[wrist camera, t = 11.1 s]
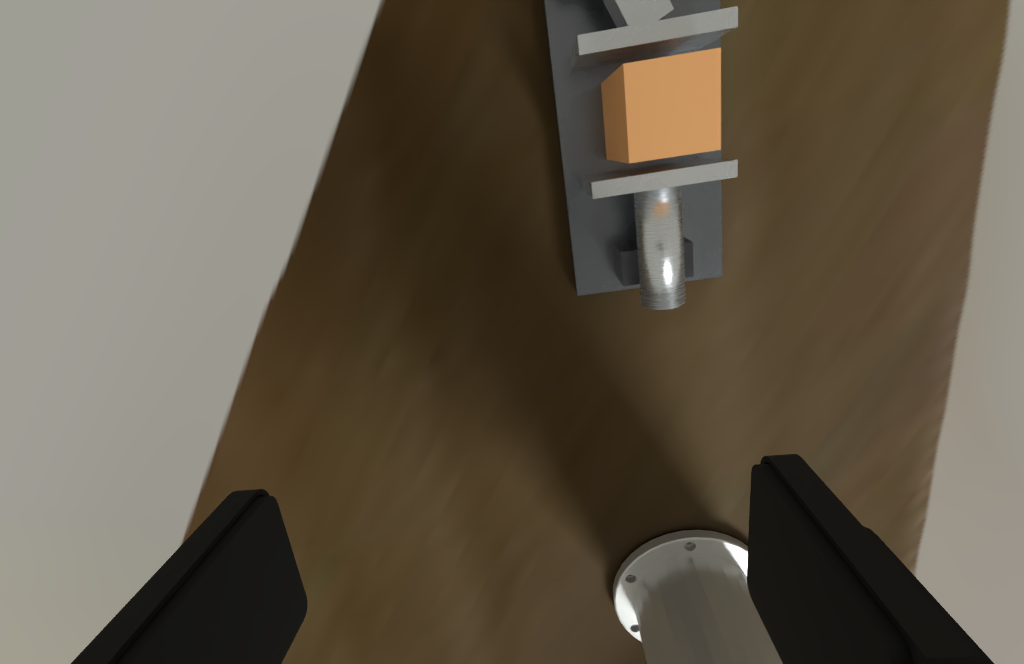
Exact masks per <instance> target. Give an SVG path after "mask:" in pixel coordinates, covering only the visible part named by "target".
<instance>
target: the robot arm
mask: <svg viewBox="0 0 1024 664" xmlns="http://www.w3.org/2000/svg"><path fill="white" fill-rule="evenodd" d="M613 600H614V605H615V611H616V613H617V616H618V619H619V621H620V622H621V624H622V625H623V626H624V628H625V629H626V630H627V631H628V632H629V633H630V634H631V635H632V636H633V637H634V638H636V639H638V640H639V641H641V642H642V645H643V649H644V654H645V658H646V662H647V664H994V663H993V662H992V661H991V660H990V659H989V658H988V656H987V655H986V654H985V653H984V652H983V651H982V650H981V649H980V648H979V647H978V645H977V644H976V643H975V642H974V641H973V640H972V639H971V638H970V637H969V636H968V635H967V634H966V632H965V631H964V630H963V629H962V628H961V627H960V626H959V625H958V623H956V621H955V620H954V619H953V618H952V617H951V616H950V615H949V614H948V613H947V611H946V610H945V609H944V608H943V607H942V606H941V605H940V604H939V603H938V602H937V600H936V599H935V598H934V597H933V596H932V595H931V594H930V593H929V592H928V591H927V590H926V588H925V587H924V586H923V585H922V584H921V583H920V582H919V581H918V580H917V579H916V577H915V576H914V575H913V574H912V573H911V572H910V571H909V570H908V569H907V568H906V566H905V565H904V564H903V563H902V562H901V561H900V560H899V559H898V558H897V557H896V555H895V554H894V553H893V552H892V551H891V550H890V549H889V548H888V547H887V546H886V545H885V543H884V542H883V541H882V540H881V539H880V538H879V537H878V536H877V535H876V534H875V533H874V532H873V531H872V530H870V529H869V528H866V527H864V526H862V525H861V524H860V523H859V521H858V520H857V519H856V518H855V517H854V516H853V515H852V514H851V512H850V511H849V510H848V509H847V508H846V507H845V506H844V505H843V504H842V502H841V501H840V500H839V499H838V498H837V497H836V496H835V495H834V493H833V492H832V491H831V490H830V489H829V488H828V487H827V486H826V485H825V483H824V482H823V481H822V480H821V479H820V478H819V477H818V476H817V474H816V473H815V472H814V471H813V470H812V469H811V468H810V467H809V466H808V464H807V463H806V462H805V461H804V460H803V459H802V458H801V457H800V456H799V455H797V454H788V455H773V456H764V457H763V458H762V460H761V464H758V465H754V466H753V467H752V472H751V493H750V515H749V536H748V546H747V545H745V544H744V543H743V542H741V541H740V540H738V539H735V538H733V537H731V536H729V535H726V534H722V533H718V532H714V531H706V530H685V531H678V532H674V533H669V534H665V535H663V536H660V537H657V538H655V539H652V540H651V541H649V542H647V543H645V544H643V545H642V546H640V547H639V548H638V549H636V550H635V551H634V552H633V553H631V554H630V555H629V556H628V558H627V559H626V560H625V561H624V562H623V563H622V565H621V567H620V568H619V570H618V572H617V574H616V577H615V580H614V584H613ZM306 611H307V597H306V593H305V590H304V587H303V584H302V581H301V577H300V574H299V571H298V568H297V564H296V561H295V558H294V555H293V551H292V548H291V545H290V542H289V538H288V535H287V532H286V529H285V526H284V522H283V519H282V516H281V513H280V509H279V506H278V503H277V501H276V499H275V498H274V497H273V496H269V494H268V492H267V491H266V490H263V489H257V490H242V491H234V492H232V493H231V494H229V495H228V496H227V497H226V498H225V500H224V501H223V502H222V503H221V504H220V505H219V506H218V507H217V508H216V509H215V510H214V511H213V512H212V513H211V514H210V516H209V517H208V518H207V519H206V520H205V521H204V522H203V523H202V524H201V525H200V526H199V527H198V528H197V529H196V530H195V532H194V533H193V534H192V535H191V536H190V537H189V538H188V539H187V540H186V541H185V542H184V543H183V544H182V545H181V547H180V548H179V549H178V550H177V551H176V552H175V553H174V554H173V555H172V556H171V558H169V559H168V560H167V561H166V563H165V564H164V565H163V566H162V567H161V568H160V569H159V570H158V571H157V572H156V573H155V574H154V575H153V577H151V579H150V580H149V581H148V582H147V583H146V584H145V585H144V586H143V587H142V588H141V589H140V590H139V591H138V592H137V594H136V595H135V596H134V597H133V598H132V599H131V600H130V601H129V602H128V603H127V604H126V605H125V607H123V608H122V610H121V611H120V612H119V613H118V614H117V615H116V616H115V617H114V618H113V619H112V620H111V621H110V622H109V623H108V624H107V626H106V627H105V628H104V629H103V630H102V631H101V632H100V633H99V634H98V635H97V636H96V637H95V639H94V640H93V641H92V642H91V643H90V644H89V645H88V646H87V647H86V648H85V649H84V650H83V651H82V652H81V653H80V655H78V657H77V658H76V659H75V660H74V661H73V662H72V663H71V664H281V663H282V661H283V659H284V657H285V655H286V653H287V651H288V649H289V648H290V646H291V644H292V642H293V640H294V638H295V636H296V634H297V632H298V630H299V628H300V626H301V624H302V622H303V620H304V618H305V615H306Z"/></svg>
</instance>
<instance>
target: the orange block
mask: <svg viewBox="0 0 1024 664" xmlns="http://www.w3.org/2000/svg"><path fill="white" fill-rule="evenodd" d="M601 90H602V103H603V116H604V129H605V143H606V156H607V160H612V161H618V162H624V163H636V162H642V161H649V160H656V159H662V158H669V157H676V156H682V155H689V154H696V153H702V152H709V151H716V150H721V48H715V49H709V50H703V51H697V52H691V53H685V54H679V55H673V56H667V57H661V58H655V59H649V60H643V61H637V62H631V63H625V64H622V65H621V66H620V67H619V68H618V69H617V70H616V71H614V72H613V73H612V74H611V75H610V76H609V77H608V78H607V79H606V80H604V81H603V82H602V83H601Z"/></svg>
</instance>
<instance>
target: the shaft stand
mask: <svg viewBox="0 0 1024 664" xmlns="http://www.w3.org/2000/svg"><path fill="white" fill-rule="evenodd" d="M543 5H544V14H545V23H546V31H547V40H548V49H549V58H550V67H551V76H552V85H553V94H554V102H555V111H556V120H557V129H558V138H559V147H560V156H561V164H562V173H563V182H564V191H565V200H566V209H567V218H568V227H569V235H570V244H571V253H572V262H573V271H574V280H575V289H576V292H577V296H582V295H589V294H597V293H604V292H611V291H619V290H626V289H633V288H640V296H641V306H642V307H644V308H647V309H652V310H666V309H673V308H677V307H680V306H682V305H684V304H685V302H686V301H685V281H692V280H699V279H707V278H714V277H721V276H722V179H728V178H734V177H737V172H738V160H734V159H721V150H716V151H709V152H702V153H696V154H689V155H682V156H676V157H669V158H662V159H656V160H649V161H642V162H636V163H624V162H618V161H612V160H607V156H606V143H605V129H604V116H603V103H602V90H601V83H602V82H603V81H604V80H606V79H607V78H608V77H609V76H610V75H611V74H612V73H613V72H614V71H616V70H617V69H618V68H619V67H620V66H621V65H622V64H625V63H631V62H637V61H643V60H649V59H655V58H661V57H667V56H673V55H679V54H685V53H691V52H697V51H703V50H709V49H715V48H721V36H723V35H725V34H727V33H728V32H730V31H732V30H734V29H735V28H737V27H738V6H736V7H730V8H725V9H720V0H543Z"/></svg>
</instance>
